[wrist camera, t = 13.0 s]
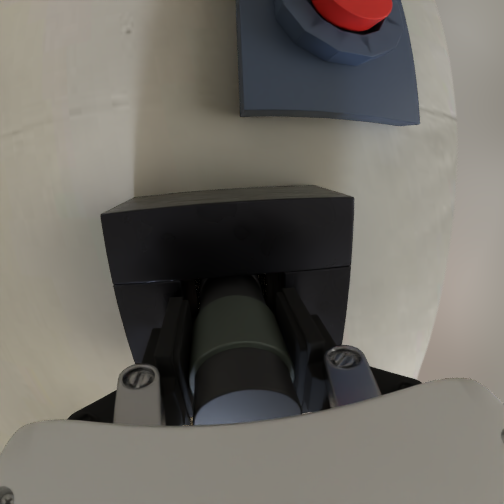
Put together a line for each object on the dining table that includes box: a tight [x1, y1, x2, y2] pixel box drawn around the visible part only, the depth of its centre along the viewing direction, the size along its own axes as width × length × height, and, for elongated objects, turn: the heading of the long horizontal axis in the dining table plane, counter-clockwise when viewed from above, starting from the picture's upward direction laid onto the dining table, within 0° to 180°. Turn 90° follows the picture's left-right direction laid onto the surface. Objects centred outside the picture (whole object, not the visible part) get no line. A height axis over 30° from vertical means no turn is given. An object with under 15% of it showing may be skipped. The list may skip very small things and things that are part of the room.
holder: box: [101, 185, 354, 364], centre depth 15 cm, size 10×10×5 cm
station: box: [236, 0, 420, 126], centre depth 11 cm, size 12×10×4 cm
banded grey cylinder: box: [188, 275, 302, 426], centre depth 11 cm, size 3×3×9 cm
